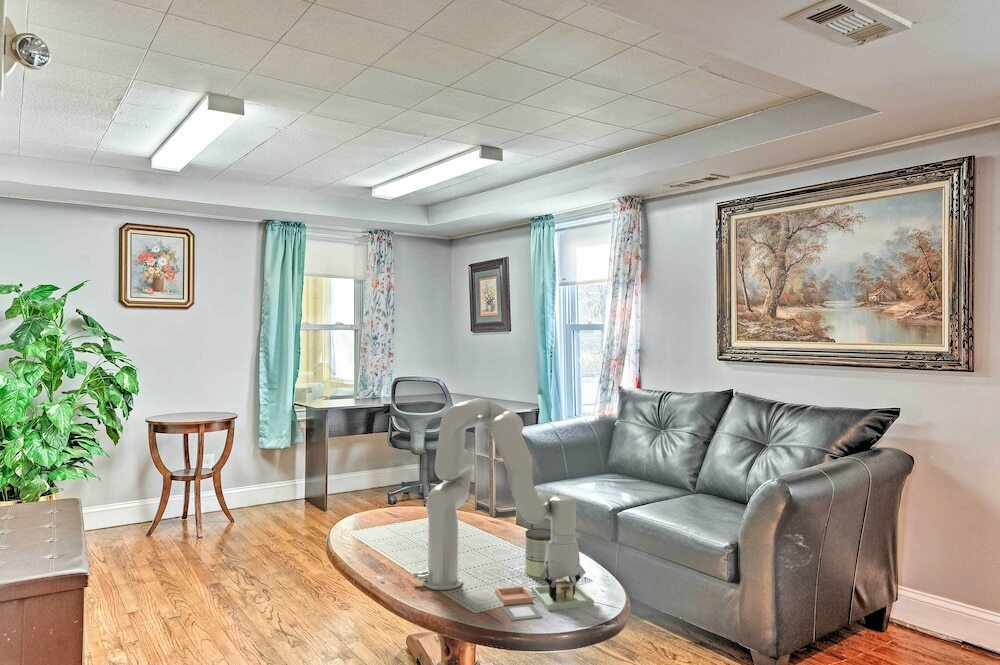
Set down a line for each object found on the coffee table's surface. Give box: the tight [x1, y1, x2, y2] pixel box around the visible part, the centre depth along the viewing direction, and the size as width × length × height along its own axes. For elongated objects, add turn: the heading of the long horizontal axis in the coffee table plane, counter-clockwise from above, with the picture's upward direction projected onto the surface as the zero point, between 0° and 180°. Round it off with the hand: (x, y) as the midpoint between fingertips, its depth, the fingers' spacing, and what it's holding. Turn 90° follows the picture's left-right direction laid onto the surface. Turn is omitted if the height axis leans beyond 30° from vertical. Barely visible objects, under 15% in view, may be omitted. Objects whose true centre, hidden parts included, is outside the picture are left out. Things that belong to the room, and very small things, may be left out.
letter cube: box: [555, 577, 573, 602], centre depth 210 cm, size 5×5×5 cm
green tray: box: [530, 584, 595, 611], centre depth 210 cm, size 14×14×2 cm
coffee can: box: [524, 527, 551, 580], centre depth 232 cm, size 10×10×14 cm
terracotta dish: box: [494, 585, 534, 606], centre depth 210 cm, size 9×9×2 cm
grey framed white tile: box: [502, 603, 543, 622], centre depth 199 cm, size 9×9×1 cm
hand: (561, 597), depth 210 cm, fingers closed on letter cube, 5 cm apart
